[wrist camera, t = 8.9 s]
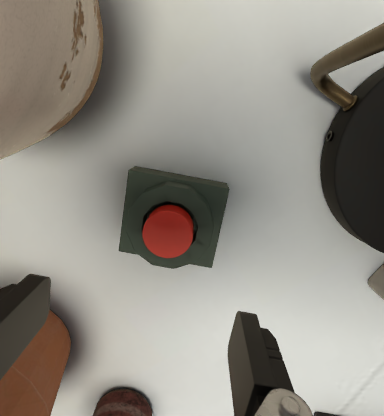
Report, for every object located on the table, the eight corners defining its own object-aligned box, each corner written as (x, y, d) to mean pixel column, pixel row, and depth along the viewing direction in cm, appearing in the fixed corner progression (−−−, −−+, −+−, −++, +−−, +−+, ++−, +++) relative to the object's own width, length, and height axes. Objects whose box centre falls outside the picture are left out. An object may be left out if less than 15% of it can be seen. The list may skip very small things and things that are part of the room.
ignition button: (197, 209, 22) (197, 216, 20) (189, 252, 23) (187, 262, 21) (150, 200, 22) (145, 206, 20) (143, 244, 23) (138, 253, 21)
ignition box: (227, 183, 25) (231, 193, 21) (211, 257, 27) (212, 279, 23) (134, 165, 25) (122, 173, 21) (125, 241, 27) (112, 260, 23)
